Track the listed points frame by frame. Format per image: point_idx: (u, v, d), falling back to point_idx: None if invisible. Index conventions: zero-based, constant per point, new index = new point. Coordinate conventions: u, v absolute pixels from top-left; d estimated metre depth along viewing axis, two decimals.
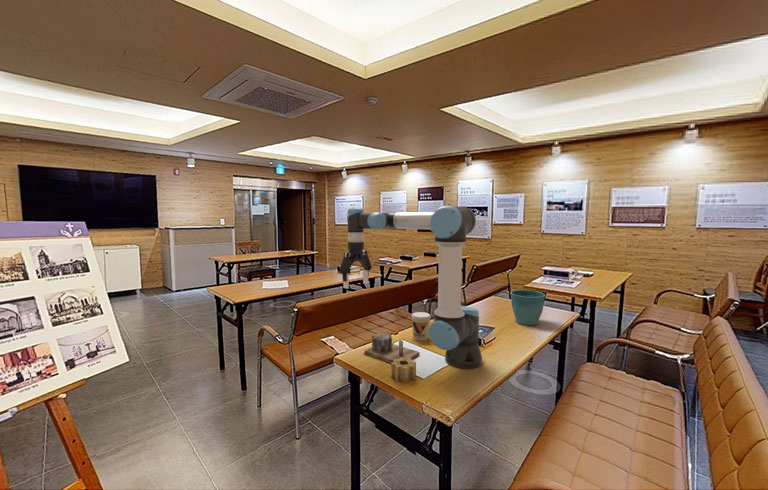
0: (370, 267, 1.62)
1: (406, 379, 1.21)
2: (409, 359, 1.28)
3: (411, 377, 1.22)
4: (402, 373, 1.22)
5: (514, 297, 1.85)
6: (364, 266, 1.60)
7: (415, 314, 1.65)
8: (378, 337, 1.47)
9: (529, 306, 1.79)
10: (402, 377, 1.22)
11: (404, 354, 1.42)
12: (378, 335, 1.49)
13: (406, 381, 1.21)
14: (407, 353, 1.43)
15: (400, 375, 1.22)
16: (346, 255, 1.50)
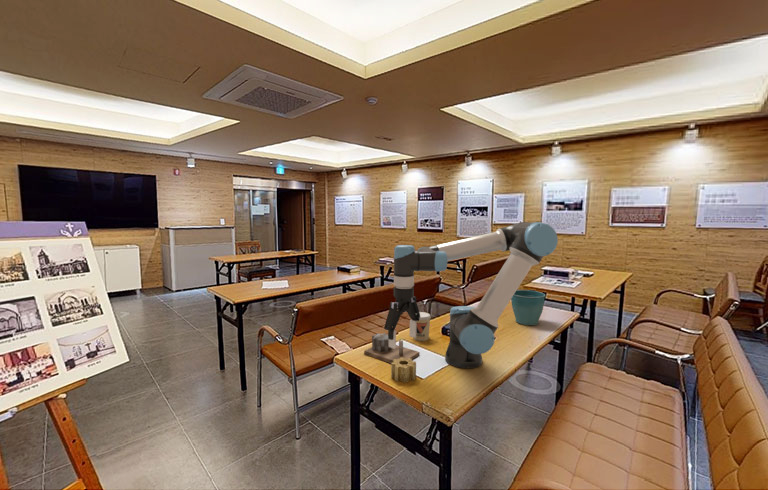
0: (418, 316, 1.30)
1: (406, 379, 1.21)
2: (409, 359, 1.28)
3: (411, 377, 1.22)
4: (402, 373, 1.22)
5: (514, 297, 1.85)
6: (412, 316, 1.28)
7: None
8: (378, 337, 1.47)
9: (529, 306, 1.79)
10: (402, 377, 1.22)
11: (404, 354, 1.42)
12: (378, 335, 1.49)
13: (406, 381, 1.21)
14: (407, 353, 1.43)
15: (400, 375, 1.22)
16: (393, 306, 1.17)
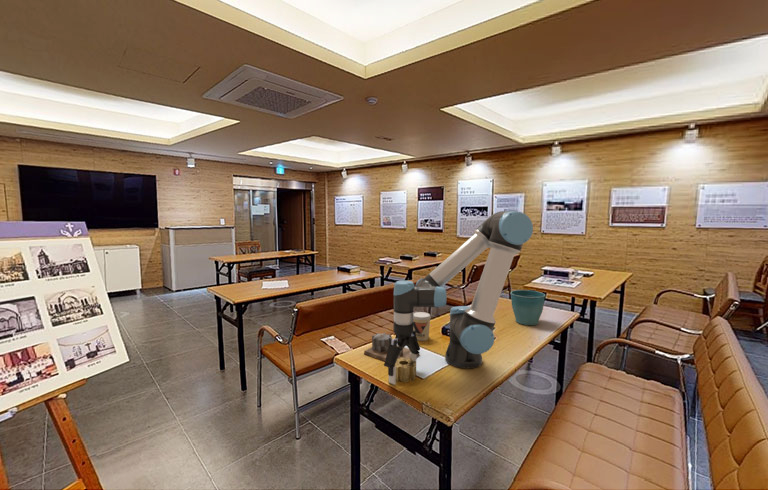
0: (418, 349, 1.31)
1: (406, 379, 1.21)
2: (409, 359, 1.28)
3: (411, 377, 1.22)
4: (402, 373, 1.22)
5: (514, 297, 1.85)
6: (412, 349, 1.29)
7: (415, 314, 1.65)
8: (378, 337, 1.47)
9: (529, 306, 1.79)
10: (402, 377, 1.22)
11: (404, 354, 1.42)
12: (378, 335, 1.49)
13: (406, 381, 1.21)
14: (407, 353, 1.43)
15: (400, 375, 1.22)
16: (393, 343, 1.18)
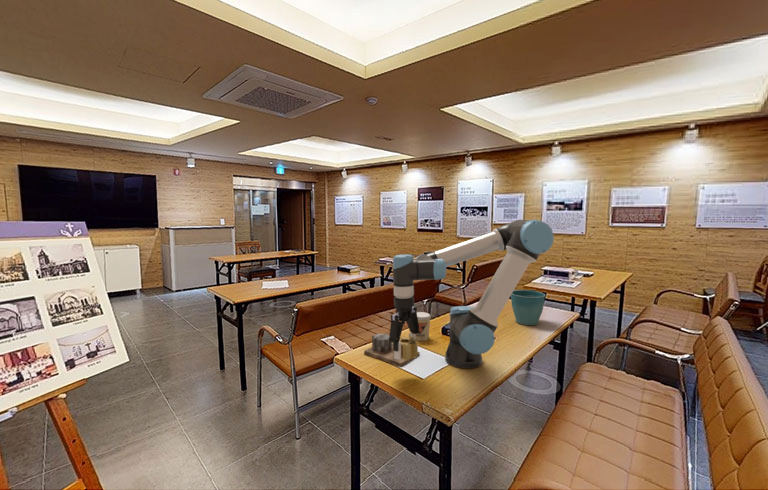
0: (417, 329, 1.29)
1: (408, 357, 1.20)
2: (410, 338, 1.27)
3: (413, 355, 1.22)
4: (404, 351, 1.21)
5: (514, 297, 1.85)
6: (411, 328, 1.27)
7: None
8: (378, 337, 1.47)
9: (529, 306, 1.79)
10: (404, 355, 1.21)
11: None
12: (378, 335, 1.49)
13: (408, 359, 1.20)
14: None
15: (402, 353, 1.21)
16: (394, 318, 1.18)
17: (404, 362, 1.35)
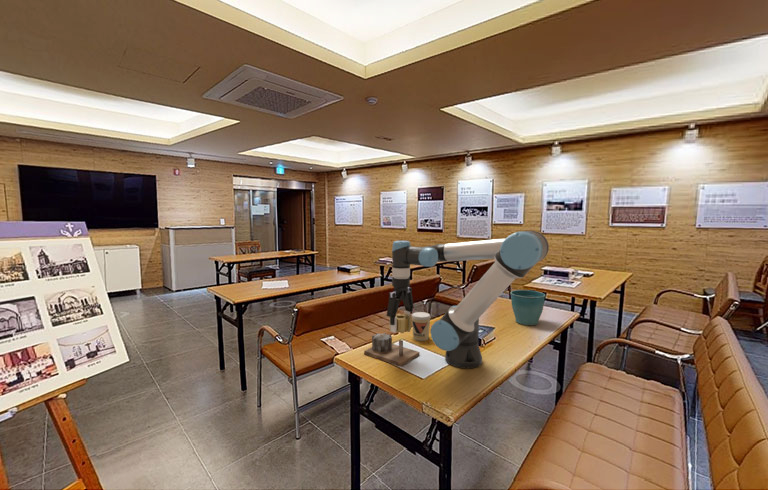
0: (412, 307, 1.45)
1: (402, 330, 1.36)
2: (405, 314, 1.43)
3: (407, 329, 1.38)
4: (399, 325, 1.37)
5: (514, 297, 1.85)
6: (406, 306, 1.44)
7: (415, 314, 1.65)
8: (378, 337, 1.47)
9: (529, 306, 1.79)
10: (399, 328, 1.37)
11: (404, 354, 1.42)
12: (378, 335, 1.49)
13: (402, 332, 1.37)
14: (407, 353, 1.43)
15: (397, 327, 1.37)
16: (392, 296, 1.34)
17: (404, 362, 1.35)
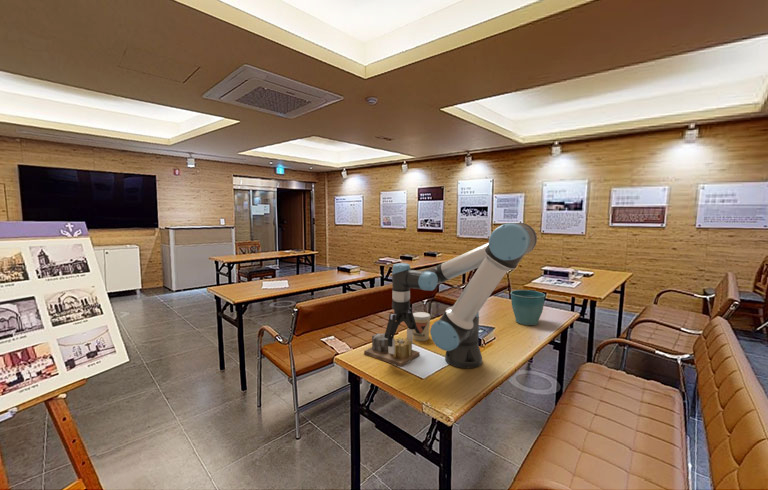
0: (414, 325, 1.47)
1: (403, 356, 1.37)
2: (406, 339, 1.44)
3: (407, 354, 1.39)
4: (399, 350, 1.38)
5: (514, 297, 1.85)
6: (408, 325, 1.45)
7: (415, 314, 1.65)
8: (378, 337, 1.47)
9: (529, 306, 1.79)
10: (399, 354, 1.38)
11: None
12: (378, 335, 1.49)
13: (403, 357, 1.37)
14: None
15: (398, 352, 1.38)
16: (392, 317, 1.35)
17: (404, 362, 1.35)
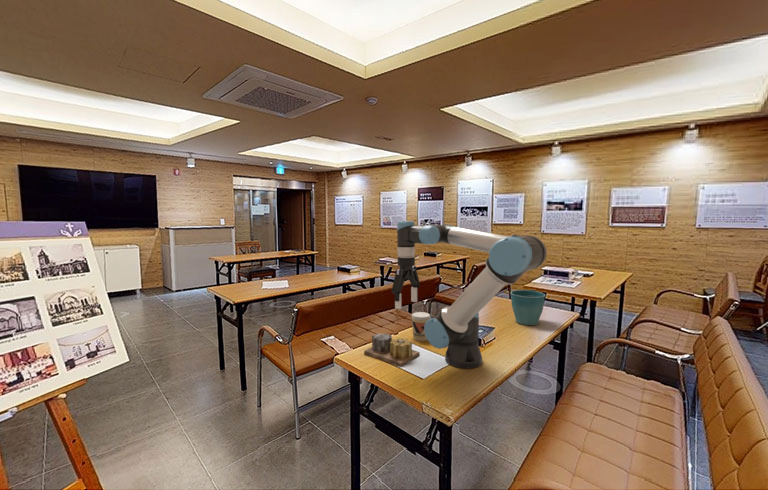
0: (418, 284, 1.50)
1: (403, 356, 1.37)
2: (406, 339, 1.44)
3: (407, 354, 1.39)
4: (399, 350, 1.38)
5: (514, 297, 1.85)
6: (413, 283, 1.47)
7: (415, 314, 1.65)
8: (378, 337, 1.47)
9: (529, 306, 1.79)
10: (399, 354, 1.38)
11: None
12: (378, 335, 1.49)
13: (403, 357, 1.37)
14: None
15: (398, 352, 1.38)
16: (399, 272, 1.36)
17: (404, 362, 1.35)
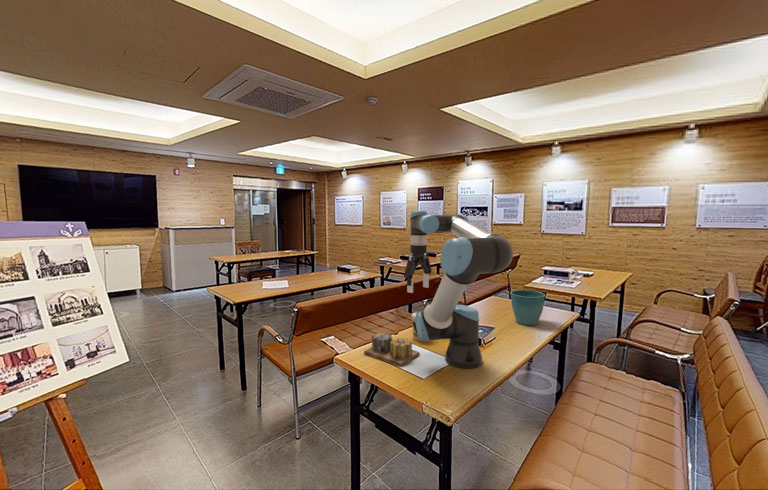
0: (430, 271, 1.59)
1: (403, 356, 1.37)
2: (406, 339, 1.44)
3: (407, 354, 1.39)
4: (399, 350, 1.38)
5: (514, 297, 1.85)
6: (425, 270, 1.57)
7: (415, 314, 1.65)
8: (378, 337, 1.47)
9: (529, 306, 1.79)
10: (399, 354, 1.38)
11: None
12: (378, 335, 1.49)
13: (403, 357, 1.37)
14: None
15: (398, 352, 1.38)
16: (411, 259, 1.46)
17: (404, 362, 1.35)
